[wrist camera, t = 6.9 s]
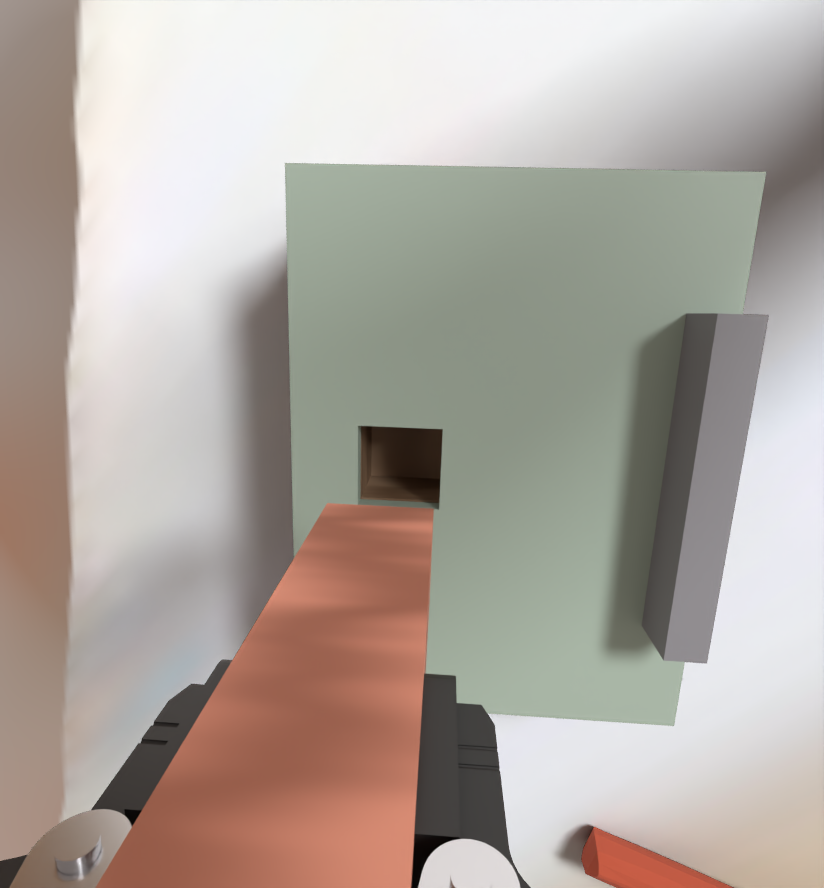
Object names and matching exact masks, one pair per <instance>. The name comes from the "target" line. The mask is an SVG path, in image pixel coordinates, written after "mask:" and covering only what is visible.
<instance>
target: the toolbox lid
mask: <svg viewBox="0 0 824 888" xmlns="http://www.w3.org/2000/svg"><path fill="white" fill-rule="evenodd" d="M765 178H766V172H747V171H692V170H636V169H581V168H526V167H471V166H415V165H360V164H305V163H285V184H286V230H287V276H288V322H289V369H290V415H291V461H292V507H293V554H294V557H295V556H296V554H297V552H298V551H299V549H300V547H301V546H302V544H303V542H304V541H305V539H306V537H307V536H308V534H309V532H310V531H311V529H312V527H313V526H314V524H315V523H316V521H317V519H318V518H319V516H320V514H321V513H322V511H323V509H324V508H325V506H326V504H327V503H334V504H353V505H372V506H391V507H411V508H430V509H434V515H433V537H432V559H431V581H430V603H429V621H428V639H427V657H426V674H440V675H455V676H456V696H457V703H465V704H479V705H482V706H483V708H484V709H485V711H486V712H487V713H489V714H504V715H519V716H534V717H548V718H563V719H578V720H593V721H608V722H622V723H637V724H652V725H667V726H674V723H675V717H676V711H677V705H678V699H679V693H680V687H681V681H682V675H683V669H684V663H685V662H693V663H707V660H708V654H709V648H710V643H711V637H712V632H713V626H714V620H715V615H716V609H717V603H718V598H719V592H720V587H721V581H722V575H723V570H724V564H725V558H726V553H727V547H728V542H729V536H730V530H731V525H732V519H733V513H734V508H735V502H736V497H737V491H738V485H739V480H740V474H741V468H742V463H743V457H744V452H745V446H746V440H747V435H748V429H749V423H750V418H751V412H752V407H753V401H754V395H755V390H756V384H757V378H758V373H759V367H760V362H761V356H762V350H763V345H764V339H765V333H766V328H767V322H768V317H769V315H752V314H743V309H744V303H745V297H746V291H747V285H748V279H749V273H750V267H751V261H752V255H753V249H754V243H755V237H756V231H757V225H758V219H759V213H760V207H761V201H762V195H763V189H764V184H765ZM361 426H378V427H402V428H425V429H443V433H442V455H441V478H440V500H439V503H429V502H408V501H388V500H367V499H360V496H361Z"/></svg>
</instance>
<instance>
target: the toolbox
mask: <svg viewBox="0 0 824 888" xmlns="http://www.w3.org/2000/svg"><path fill="white" fill-rule="evenodd" d="M442 433H443V429H425V428H402V427H378V426H361V496H360V499H367V500H388V501H408V502H429V503H439V500H440V478H441V455H442Z"/></svg>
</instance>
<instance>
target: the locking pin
mask: <svg viewBox="0 0 824 888" xmlns="http://www.w3.org/2000/svg"><path fill="white" fill-rule="evenodd" d="M433 515H434V509H430V508H411V507H391V506H372V505H353V504H334V503H327V504H326V506H325V508H324V509H323V511H322V513H321V514H320V516H319V518H318V519H317V521H316V523H315V524H314V526H313V527H312V529H311V531H310V532H309V534H308V536H307V537H306V539H305V541H304V542H303V544H302V546H301V547H300V549H299V551H298V552H297V554H296V556H295V557H294V559H293V561H292V562H291V564H290V566H289V567H288V569H287V571H286V572H285V574H284V576H283V577H282V579H281V581H280V582H279V584H278V586H277V587H276V589H275V591H274V592H273V594H272V596H271V597H270V599H269V600H268V602H267V604H266V605H265V607H264V609H263V610H262V612H261V614H260V615H259V617H258V619H257V620H256V622H255V624H254V625H253V627H252V629H251V630H250V632H249V634H248V635H247V637H246V639H245V640H244V642H243V644H242V645H241V647H240V649H239V650H238V652H237V654H236V655H235V657H234V659H233V660H232V662H231V664H230V665H229V667H228V668H227V670H226V672H225V673H224V675H223V677H222V678H221V680H220V682H219V683H218V685H217V687H216V688H215V690H214V692H213V693H212V695H211V697H210V698H209V700H208V702H207V703H206V705H205V707H204V708H203V710H202V712H201V713H200V715H199V717H198V718H197V720H196V722H195V723H194V725H193V727H192V728H191V730H190V732H189V733H188V735H187V737H186V738H185V740H184V741H183V743H182V745H181V746H180V748H179V750H178V751H177V753H176V755H175V756H174V758H173V760H172V761H171V763H170V765H169V766H168V768H167V770H166V771H165V773H164V775H163V776H162V778H161V780H160V781H159V783H158V785H157V786H156V788H155V790H154V791H153V793H152V795H151V796H150V798H149V800H148V801H147V803H146V805H145V806H144V808H143V809H142V811H141V813H140V814H139V816H138V818H137V819H136V821H135V823H134V824H133V826H132V828H131V829H130V831H129V833H128V834H127V836H126V838H125V839H124V841H123V843H122V844H121V846H120V848H119V849H118V851H117V853H116V854H115V856H114V858H113V859H112V861H111V863H110V864H109V866H108V868H107V869H106V871H105V873H104V874H103V876H102V878H101V879H100V881H99V882H98V884H97V886H96V887H95V888H412V878H413V854H414V832H415V815H416V799H417V782H418V766H419V749H420V733H421V716H422V700H423V683H424V673H426V657H427V639H428V621H429V603H430V581H431V559H432V537H433Z"/></svg>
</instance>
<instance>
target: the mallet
mask: <svg viewBox="0 0 824 888" xmlns="http://www.w3.org/2000/svg"><path fill="white" fill-rule="evenodd" d="M581 860H582V863H583V867H584V870H585V873H586V874H587V875H590V876H592V877H594V878H596V879H598V880H601V881H603V882H605V883H607V884H610V885H612V886H614V887H616V888H733V887H731V886H729V885H727V884H724V883H722V882H720V881H718V880H715V879H713V878H711V877H709V876H706V875H704V874H702V873H700V872H698V871H695V870H693V869H691V868H689V867H686V866H684V865H682V864H680V863H677V862H675V861H673V860H670V859H668V858H666V857H664V856H661V855H659V854H657V853H654V852H652V851H650V850H647V849H645V848H643V847H640V846H638V845H636V844H633V843H631V842H629V841H626V840H624V839H621V838H619V837H616V836H614V835H612V834H609V833H607V832H604V831H602V830H600V829H598V828H596V827H594V828H593V830H592V832H591V834H590V836H589V838H588V840H587V842H586V844H585V846H584V848H583V852H582V858H581Z"/></svg>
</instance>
